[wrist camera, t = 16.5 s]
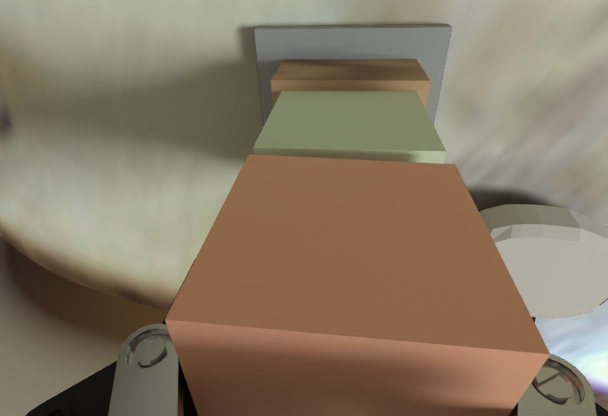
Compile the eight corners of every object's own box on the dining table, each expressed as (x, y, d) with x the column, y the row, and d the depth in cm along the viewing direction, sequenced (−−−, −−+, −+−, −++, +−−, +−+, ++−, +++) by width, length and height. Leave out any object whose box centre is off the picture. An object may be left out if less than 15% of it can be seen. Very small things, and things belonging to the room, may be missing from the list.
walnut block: (290, 172, 23) (280, 207, 20) (284, 59, 19) (270, 80, 16) (399, 175, 23) (407, 212, 20) (416, 59, 19) (430, 80, 16)
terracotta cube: (262, 291, 14) (216, 466, 9) (248, 154, 11) (164, 319, 6) (416, 303, 14) (453, 496, 9) (454, 164, 10) (549, 354, 5)
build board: (272, 183, 25) (269, 191, 24) (257, 26, 20) (254, 29, 19) (417, 188, 24) (420, 196, 23) (447, 24, 19) (452, 27, 18)
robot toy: (513, 331, 33) (644, 211, 23) (531, 381, 30) (693, 263, 20) (384, 302, 33) (463, 168, 23) (387, 349, 29) (481, 213, 20)
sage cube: (288, 200, 20) (268, 279, 15) (281, 90, 16) (252, 147, 12) (399, 203, 19) (416, 288, 14) (416, 91, 16) (446, 151, 11)
